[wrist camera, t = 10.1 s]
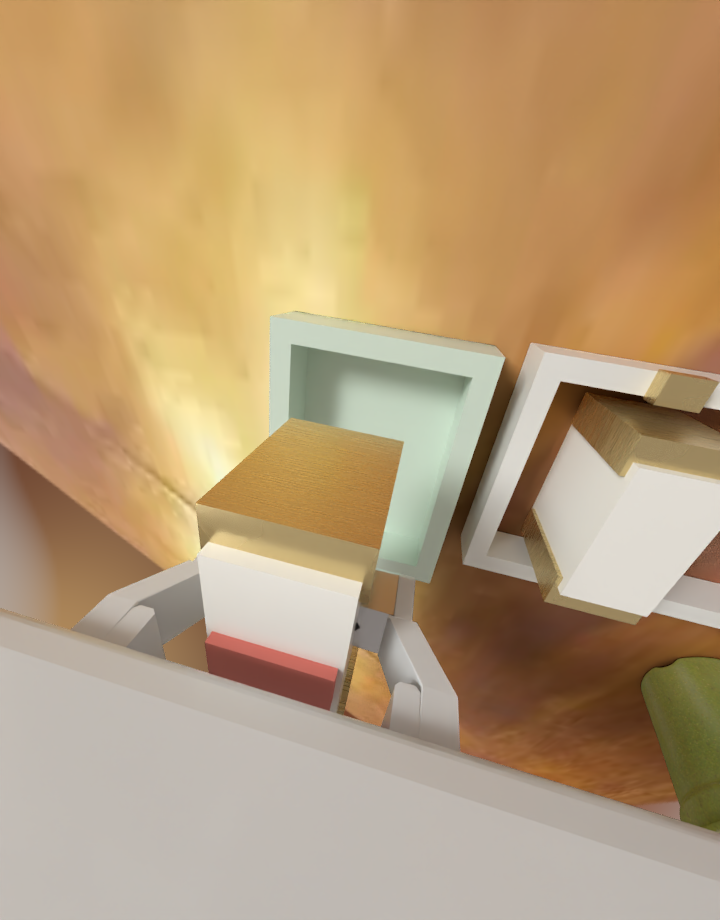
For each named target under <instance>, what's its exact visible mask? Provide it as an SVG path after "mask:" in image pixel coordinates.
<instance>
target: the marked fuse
mask: <svg viewBox="0 0 720 920" xmlns="http://www.w3.org/2000/svg"><path fill="white" fill-rule="evenodd" d="M403 444H404V441H400V440H395V439H390V438H385V437H381V436H376V435H371V434H367V433H362V432H357V431H352V430H348V429H343V428H338V427H334V426H329V425H324V424H319V423H315V422H310V421H305V420H301V419H296V418H290V419H289V420H288V421H286V422H285V423H284V424H283V425H282V426H281V427H280V428H279V429H278V430H276V431H275V432H274V433H273V434H272V435H271V436H270V437H269V438H268V439H266V440H265V441H264V442H263V443H262V444H261V445H260V446H259V447H257V448H256V449H255V450H254V451H253V452H252V453H251V454H250V455H249V456H247V457H246V458H245V459H244V460H243V461H242V462H241V463H240V464H239V465H237V466H236V467H235V468H234V469H233V470H232V471H231V472H230V473H228V474H227V475H226V476H225V477H224V478H223V479H222V480H221V481H220V482H218V483H217V484H216V485H215V486H214V487H213V488H212V489H211V490H210V491H208V492H207V493H206V494H205V495H204V496H203V497H202V498H201V499H200V500H198V501H197V502H196V512H197V520H198V528H199V537H200V545H201V550H200V552H199V553H198V554H197V559H198V567H199V575H200V583H201V591H202V598H203V606H204V614H205V622H206V630H207V637H208V638H207V640H206V641H205V648H206V655H207V663H208V670H209V673H210V674H213V675H216V676H219V677H223V678H226V679H229V680H232V681H235V682H239V683H242V684H245V685H248V686H251V687H255V688H258V689H261V690H264V691H267V692H271V693H274V694H277V695H280V696H283V697H287V698H290V699H293V700H296V701H299V702H303V703H306V704H309V705H312V706H315V707H319V708H322V709H325V710H328V711H331V712H335V713H338V714H341V715H343V714H344V710H345V706H346V701H347V697H348V692H349V688H350V683H351V679H352V675H353V670H354V666H355V661H356V657H357V652H358V648H359V647H356V646H353V645H352V642H353V637H354V632H355V628H356V624H357V618H358V613H359V608H360V604H361V603H364V604H368V601H369V596H370V592H371V587H372V583H373V579H374V574H375V570H376V565H377V561H378V556H379V552H380V547H381V543H382V539H383V534H384V530H385V525H386V521H387V516H388V512H389V507H390V503H391V498H392V494H393V490H394V485H395V481H396V476H397V472H398V467H399V463H400V458H401V453H402V449H403Z"/></svg>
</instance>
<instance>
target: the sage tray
mask: <svg viewBox="0 0 720 920" xmlns="http://www.w3.org/2000/svg"><path fill="white" fill-rule="evenodd" d="M504 361H505V357H504V355H503V354H502V353H501V352H500V351H499V350H498V348H497V347H496V346H494V345H488V344H483V343H477V342H471V341H465V340H459V339H454V338H448V337H442V336H436V335H431V334H425V333H419V332H413V331H408V330H402V329H396V328H390V327H384V326H379V325H373V324H367V323H361V322H356V321H350V320H344V319H338V318H333V317H327V316H321V315H315V314H309V313H304V312H298V311H294V312H289V313H283V314H278V315H273V316H270V403H269V437H270V436H271V435H272V434H273V433H274V432H275V431H276V430H278V429H279V428H280V427H281V426H282V425H283V424H284V423H285V422H286V421H288V420H289V419H290V418H296V419H301V420H305V421H310V422H315V423H319V424H324V425H329V426H334V427H338V428H343V429H348V430H352V431H357V432H362V433H367V434H371V435H376V436H381V437H385V438H390V439H395V440H400V441H404V444H403V449H402V453H401V458H400V463H399V467H398V472H397V476H396V481H395V485H394V490H393V494H392V498H391V503H390V507H389V512H388V516H387V521H386V525H385V530H384V534H383V539H382V543H381V547H380V552H379V556H378V561H377V565H376V568H378V569H382V570H386V571H390V572H394V573H398V574H402V575H406V576H410V577H414V578H415V580H418V581H422V582H426V583H429V584H430V581H431V578H432V575H433V572H434V569H435V566H436V563H437V560H438V557H439V554H440V551H441V548H442V545H443V542H444V539H445V536H446V533H447V530H448V527H449V524H450V521H451V518H452V515H453V512H454V509H455V507H456V504H457V501H458V498H459V495H460V492H461V489H462V486H463V483H464V480H465V477H466V474H467V471H468V468H469V465H470V462H471V459H472V456H473V453H474V450H475V447H476V444H477V441H478V438H479V435H480V432H481V429H482V426H483V423H484V420H485V417H486V414H487V411H488V408H489V405H490V402H491V399H492V396H493V393H494V390H495V387H496V384H497V381H498V378H499V375H500V372H501V369H502V366H503V363H504Z"/></svg>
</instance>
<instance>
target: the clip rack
mask: <svg viewBox="0 0 720 920" xmlns="http://www.w3.org/2000/svg"><path fill="white" fill-rule="evenodd" d="M560 381H562V382H568V383H573V384H579V385H585V386H590V387H596V388H601V389H607V390H612V391H618V392H623V393H629V394H634V395H640V396H644V397H643V399H644V400H646V401H647V402H649V403H651V404H653V405H657V406H662V407H668V408H673V409H679V410H684V411H689V412H695V413H700V411H701V410H702V408H703V407H706V408H711V409H717V410H720V375H719V374H713V373H707V372H701V371H695V370H689V369H684V368H678V367H672V366H666V365H660V364H654V363H648V362H642V361H636V360H631V359H625V358H619V357H613V356H607V355H601V354H595V353H589V352H584V351H578V350H572V349H566V348H560V347H554V346H548V345H542V344H537V343H531V344H530V346H529V349H528V352H527V355H526V357H525V360H524V363H523V366H522V368H521V371H520V374H519V377H518V379H517V382H516V385H515V388H514V390H513V393H512V396H511V399H510V401H509V404H508V407H507V410H506V412H505V415H504V418H503V421H502V423H501V426H500V429H499V432H498V434H497V437H496V440H495V443H494V445H493V448H492V451H491V454H490V456H489V459H488V462H487V465H486V467H485V470H484V473H483V476H482V478H481V481H480V484H479V487H478V489H477V492H476V495H475V498H474V500H473V503H472V506H471V509H470V511H469V514H468V517H467V520H466V522H465V525H464V528H463V531H462V533H461V547H462V560H463V564H464V565H468V566H472V567H476V568H480V569H484V570H488V571H492V572H496V573H500V574H504V575H508V576H512V577H516V578H520V579H524V580H528V581H532V582H536V583H538V582H537V578H536V575H535V572H534V569H533V566H532V563H531V560H530V557H529V553H528V550H527V547H526V544H525V541H524V538H523V537H520V536H516V535H512V534H508V533H503V532H499V531H497V529H498V527H499V524H500V522H501V520H502V517H503V515H504V513H505V510H506V508H507V506H508V503H509V501H510V499H511V496H512V494H513V492H514V489H515V487H516V485H517V482H518V480H519V478H520V475H521V473H522V471H523V468H524V466H525V463H526V461H527V459H528V456H529V454H530V452H531V449H532V447H533V445H534V442H535V440H536V438H537V435H538V433H539V431H540V428H541V426H542V424H543V421H544V419H545V417H546V414H547V412H548V410H549V407H550V405H551V403H552V400H553V398H554V396H555V393H556V391H557V388H558V386H559V384H560ZM652 612H655V613H659V614H663V615H667V616H671V617H675V618H679V619H683V620H687V621H691V622H695V623H699V624H702V625H706V626H710V627H714V628H718V629H720V584H718V583H714V582H710V581H706V580H701V579H697V578H693V577H689V576H685V575H682V576H681V577H680V579H679V580H678V581H677V582H676V583H675V585H674V586H673V587H672V588H671V589H670V591H669V592H668V593H667V594H666V595H665V596H664V598H663V599H662V600H661V601H660V602H659V604H658V605H657V606H656V607H655V608H654V610H653V611H652Z"/></svg>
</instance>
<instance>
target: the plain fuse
mask: <svg viewBox="0 0 720 920" xmlns="http://www.w3.org/2000/svg"><path fill="white" fill-rule="evenodd" d="M571 424H572V425H571V427H570V429H569V431H568V433H567V435H566V437H565V440H564V442H563V444H562V446H561V448H560V450H559V452H558V454H557V456H556V459H555V461H554V463H553V465H552V467H551V469H550V471H549V473H548V475H547V478H546V480H545V482H544V484H543V486H542V488H541V490H540V492H539V494H538V497H537V499H536V501H535V503H534V505H533V507H532V508H531V509H530V512H529V514H528V516H527V518H526V520H525V522H524V524H523V526H522V529H521V532H522V535H523V538H524V541H525V544H526V547H527V550H528V553H529V557H530V560H531V563H532V566H533V569H534V572H535V575H536V578H537V582H538V585H539V588H540V591H541V594H542V597H543V600H544V602H548V603H552V604H555V605H559V606H563V607H567V608H571V609H575V610H579V611H582V612H586V613H590V614H594V615H598V616H602V617H606V618H609V619H613V620H617V621H621V622H625V623H629V624H633V625H636V623H637V622H638V621H639V620H640V619H641V617H642V616H645V617H648V615H649V614H650V613H651V612H652V611H653V610H654V608H655V607H656V606H657V605H658V604H659V602H660V601H661V600H662V599H663V598H664V596H665V595H666V594H667V593H668V592H669V591H670V589H671V588H672V587H673V586H674V585H675V583H676V582H677V581H678V580H679V579H680V577H681V576H682V575H683V574H684V573H685V572H686V570H687V569H688V568H689V567H690V566H691V564H692V563H693V562H694V561H695V560H696V558H697V557H698V556H699V555H700V554H701V552H702V551H703V550H704V549H705V548H706V547H707V545H708V544H709V543H710V542H711V541H712V539H713V538H714V537H715V536H716V535H717V533H718V532H719V531H720V433H719V432H717V431H716V430H714V429H712V428H710V427H708V426H706V425H704V424H703V423H701V422H699V421H697V420H695V419H693V418H691V417H690V416H688V415H686V414H684V413H682V412H680V411H679V410H677V409H673V408H668V407H662V406H657V405H652V404H646V403H641V402H635V401H630V400H625V399H619V398H614V397H608V396H603V395H598V394H592V393H587V392H586V393H585V395H584V397H583V399H582V402H581V404H580V406H579V408H578V410H577V412H576V414H575V416H574V419H573V421H572V423H571Z"/></svg>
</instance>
